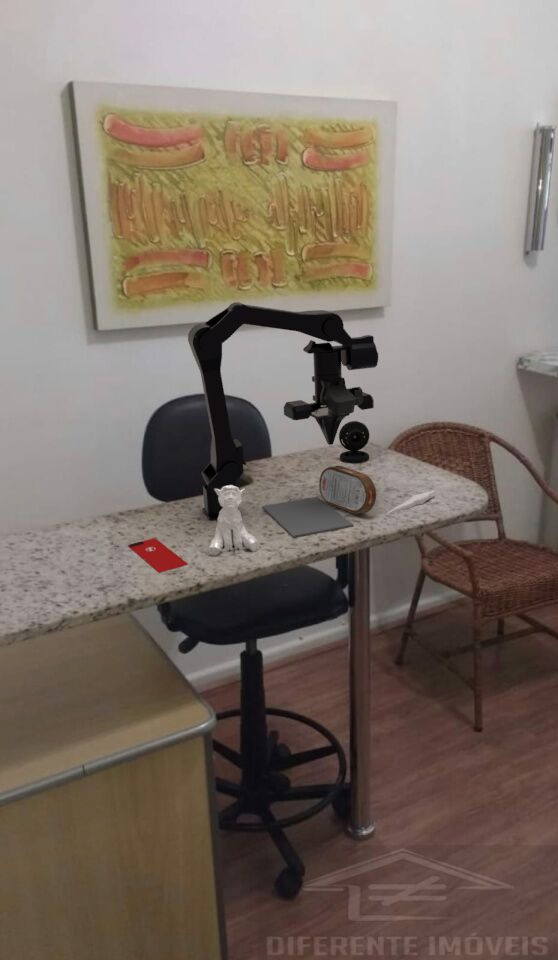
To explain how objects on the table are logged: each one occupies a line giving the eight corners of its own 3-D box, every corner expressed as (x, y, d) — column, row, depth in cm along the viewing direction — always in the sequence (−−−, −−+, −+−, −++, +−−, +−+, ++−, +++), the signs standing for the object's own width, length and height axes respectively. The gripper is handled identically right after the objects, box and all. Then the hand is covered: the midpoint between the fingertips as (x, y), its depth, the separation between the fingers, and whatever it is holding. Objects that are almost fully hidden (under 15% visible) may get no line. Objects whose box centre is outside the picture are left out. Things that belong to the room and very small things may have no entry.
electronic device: (188, 566, 136) (155, 540, 148) (188, 563, 136) (155, 537, 148) (159, 575, 133) (127, 547, 145) (159, 572, 133) (127, 544, 145)
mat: (293, 537, 145) (293, 535, 145) (262, 507, 161) (262, 506, 161) (353, 526, 150) (353, 524, 149) (317, 498, 166) (317, 496, 165)
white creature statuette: (209, 557, 138) (204, 496, 134) (204, 539, 146) (199, 481, 142) (259, 551, 140) (256, 491, 136) (252, 534, 148) (248, 476, 144)
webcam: (341, 464, 188) (341, 425, 185) (337, 455, 195) (336, 418, 192) (372, 462, 188) (372, 424, 185) (366, 453, 195) (366, 416, 192)
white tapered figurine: (429, 495, 165) (429, 487, 164) (438, 498, 163) (438, 490, 162) (382, 516, 156) (381, 508, 155) (391, 519, 154) (391, 511, 153)
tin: (373, 517, 154) (380, 477, 152) (363, 518, 151) (369, 477, 150) (324, 499, 165) (330, 461, 163) (314, 499, 163) (319, 461, 161)
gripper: (302, 385, 146) (305, 461, 151) (386, 373, 152) (387, 446, 157) (280, 375, 155) (284, 447, 161) (360, 364, 162) (362, 434, 167)
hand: (330, 444), depth 161 cm, fingers closed
